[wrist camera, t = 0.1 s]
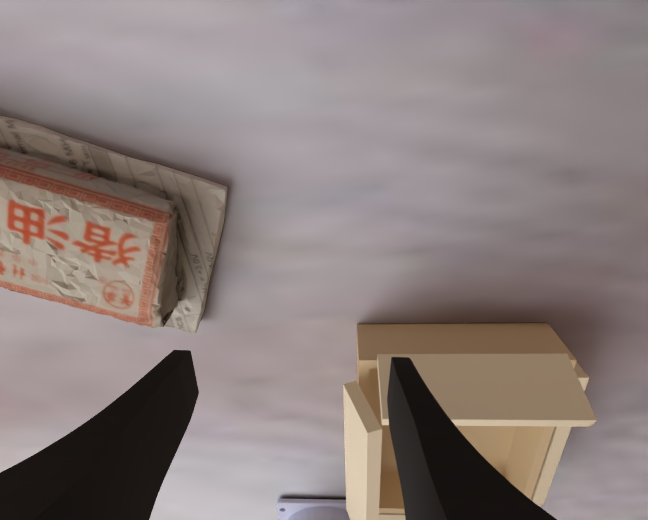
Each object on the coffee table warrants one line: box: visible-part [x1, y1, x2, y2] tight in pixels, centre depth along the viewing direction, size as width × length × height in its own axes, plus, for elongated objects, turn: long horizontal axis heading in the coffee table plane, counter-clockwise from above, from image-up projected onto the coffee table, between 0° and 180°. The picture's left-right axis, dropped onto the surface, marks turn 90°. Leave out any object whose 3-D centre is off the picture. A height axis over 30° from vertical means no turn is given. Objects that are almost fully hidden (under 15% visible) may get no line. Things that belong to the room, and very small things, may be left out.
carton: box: [357, 323, 589, 520], centre depth 27 cm, size 16×13×3 cm
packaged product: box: [0, 116, 228, 333], centre depth 21 cm, size 18×5×10 cm
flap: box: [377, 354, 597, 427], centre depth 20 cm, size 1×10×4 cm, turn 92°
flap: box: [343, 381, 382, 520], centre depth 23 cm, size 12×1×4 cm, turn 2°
